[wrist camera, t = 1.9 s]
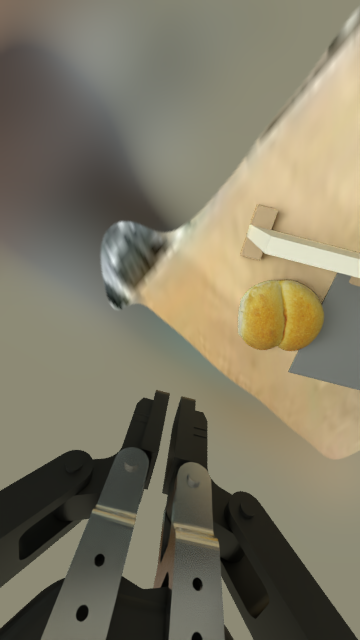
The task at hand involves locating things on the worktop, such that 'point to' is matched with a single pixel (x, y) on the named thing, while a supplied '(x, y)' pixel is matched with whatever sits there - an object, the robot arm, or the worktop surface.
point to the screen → (296, 247)
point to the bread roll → (280, 315)
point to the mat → (335, 339)
